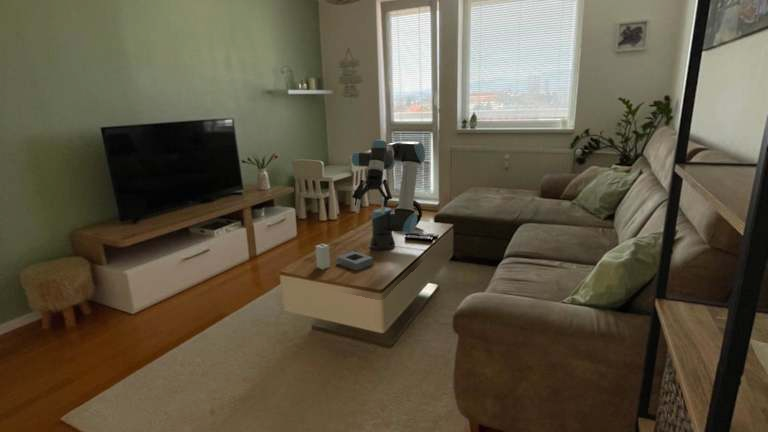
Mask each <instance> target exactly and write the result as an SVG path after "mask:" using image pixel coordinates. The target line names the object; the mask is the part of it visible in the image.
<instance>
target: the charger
mask: <svg viewBox="0 0 768 432" xmlns="http://www.w3.org/2000/svg"><path fill="white" fill-rule="evenodd" d="M315 259H316V268H318V269H320V270H325V269H329V268H331V261H330V245H328V244H326V243H320V244H318V245H315Z"/></svg>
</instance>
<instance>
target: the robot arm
mask: <svg viewBox="0 0 768 432" xmlns="http://www.w3.org/2000/svg"><path fill="white" fill-rule="evenodd" d="M425 158H426V151H425V147H424V144H423V143H422V142H420V141H395V142H389V143H387V142H386V141H385V140H383V139H374V140H373V141H371V147H370V150H365V151H355V152H353V153H352V155H351V163H352V165H353V166H354V167H358V168H359V167H360V168H361V167H363V168H365V167H366V168H367V167H368V170H367V174H366V180H363V179H360V181H359V184H358V186H357V188H356V189H355V191H354V192H353V194H352V196H351V197H352V198H353V199H354V200H355V201H354V206H355V210H354V212H355V213H356V214H359V213H360V208H361V202H362V200H361V199H362V198H363V197H364V195H366V194H367V192H369V191H370V190H372V191H375V190H376V191H377V190H378V191H379V193H380V195H381V196H382V197H383V198H382V200H381V207H380V208H377V209H375V210H373V211H372V213H371V225H372V227H371V228H372V231H371V232H372V235H371V238H370V243H369V247H370V249H372V250H375V251H389V250H392V249H394V248H395V247H396V242H395V239H394V236H393V232H397V233H403V234H406V233H407V234H412V233H413V231H414V230H415V229H416V228H417V225H418V224H417V215H418V213H416V211H415V209H414V206H413V201H414V200H415V191H416V183H417V174H418V168H419V167H421V165H422V164H421V163H424V162H425ZM396 162H400V164H401V165H402V173H401V181H400V189H399V196H398V197H399V198H398V203H397V204H398V206H397V205H396V206H397V207H396V206H395V207H396V208H394V211H395V212H394V211H393V210H392V207H391V208H390V207H388V201H389V200H392V199H393V196H392V194H391V190H390V187H389V181H388V180H387V179H385V178H384V179H383V177H384V170H386V171H390V170H392V169H393V168H394V167H395V165H396ZM382 184H383V187H384V190H385V191H384V190H383V188H382V187H381V186H382ZM416 224H417V225H416Z"/></svg>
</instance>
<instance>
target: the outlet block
mask: <svg viewBox="0 0 768 432" xmlns="http://www.w3.org/2000/svg"><path fill="white" fill-rule="evenodd" d="M336 264H337V265H340V266H342V267H346V268H348V269H351V270H353V271H356V272H358V271H360V270H363V269H366V268H368V267H371V266H373V265H374V257H372V256H371V255H367V254H363V253H360V252H357V251H354V250H352V251H349V252H346V253H343V254H340V255H337V256H336Z"/></svg>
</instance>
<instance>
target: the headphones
mask: <svg viewBox="0 0 768 432" xmlns="http://www.w3.org/2000/svg"><path fill="white" fill-rule="evenodd" d="M397 206H398V203H397V205H396V206H395V208H396V207H397ZM413 207H415V209H416V211H417V224H416V226H417V225H419V223H420V221H421V219H422V217H423V209H422V207H421V205H420V204H419V202H418V201H416V200H415V199H414V201H413ZM395 208H394V209H395ZM393 212H395V210H393Z"/></svg>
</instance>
